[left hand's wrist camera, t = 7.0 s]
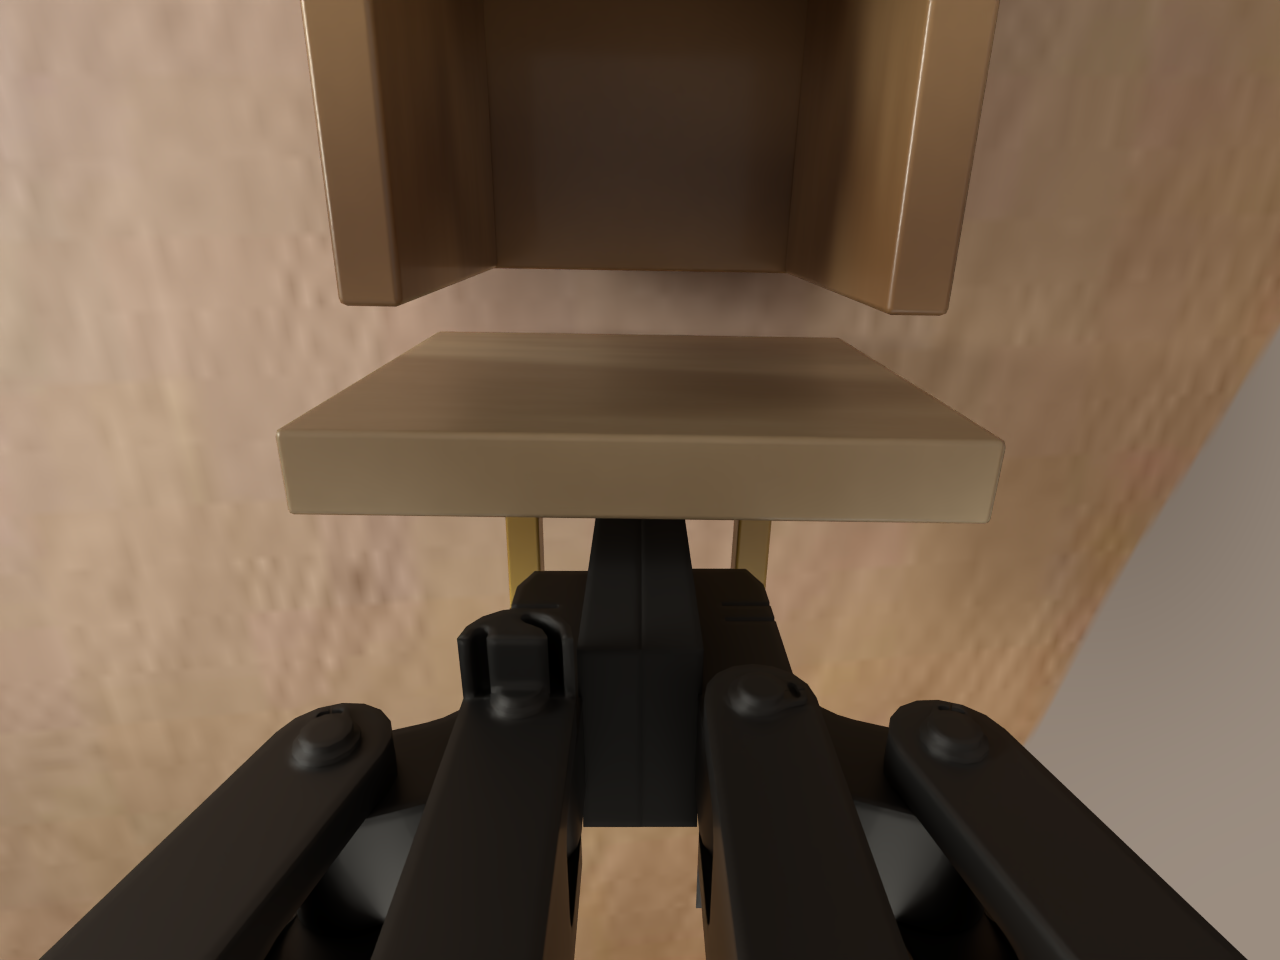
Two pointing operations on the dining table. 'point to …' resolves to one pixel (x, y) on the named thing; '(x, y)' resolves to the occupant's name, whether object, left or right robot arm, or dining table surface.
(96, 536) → the dining table surface
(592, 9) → the drawer
